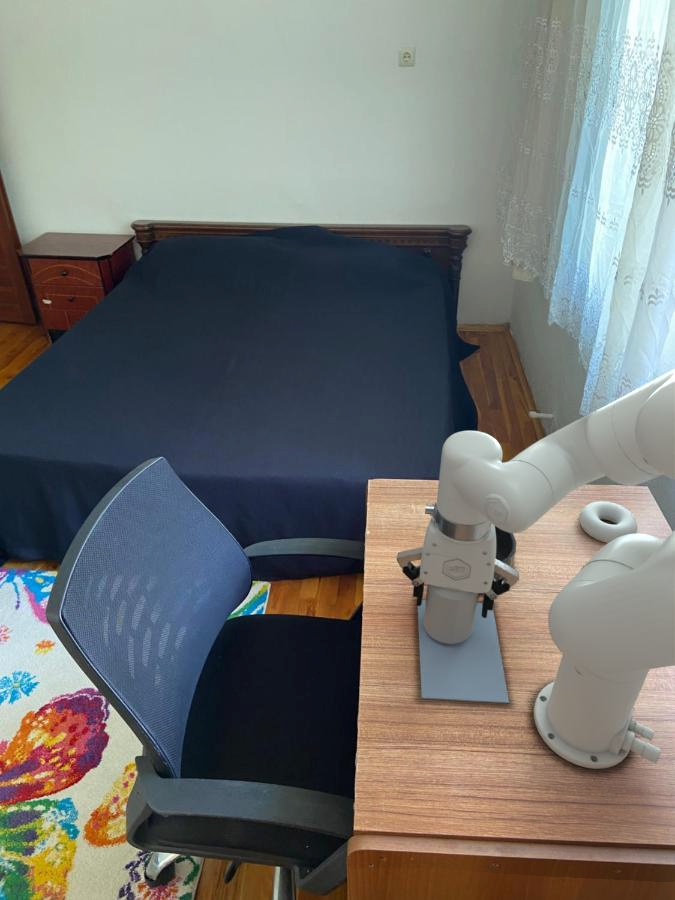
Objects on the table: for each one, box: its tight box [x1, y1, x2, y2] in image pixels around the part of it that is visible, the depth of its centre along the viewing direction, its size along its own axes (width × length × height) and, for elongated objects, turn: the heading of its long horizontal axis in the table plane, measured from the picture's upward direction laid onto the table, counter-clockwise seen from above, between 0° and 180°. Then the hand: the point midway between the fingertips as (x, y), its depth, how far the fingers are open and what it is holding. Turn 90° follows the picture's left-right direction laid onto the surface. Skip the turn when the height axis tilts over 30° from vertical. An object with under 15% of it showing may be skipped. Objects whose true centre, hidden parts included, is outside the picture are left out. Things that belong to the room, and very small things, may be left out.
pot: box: [478, 525, 517, 595], centre depth 109 cm, size 14×14×6 cm
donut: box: [579, 500, 638, 544], centre depth 118 cm, size 10×4×10 cm
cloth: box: [417, 599, 510, 705], centre depth 96 cm, size 18×12×1 cm, turn 176°
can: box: [424, 584, 480, 644], centre depth 96 cm, size 8×8×12 cm
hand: (451, 604), depth 96 cm, fingers open, 9 cm apart
